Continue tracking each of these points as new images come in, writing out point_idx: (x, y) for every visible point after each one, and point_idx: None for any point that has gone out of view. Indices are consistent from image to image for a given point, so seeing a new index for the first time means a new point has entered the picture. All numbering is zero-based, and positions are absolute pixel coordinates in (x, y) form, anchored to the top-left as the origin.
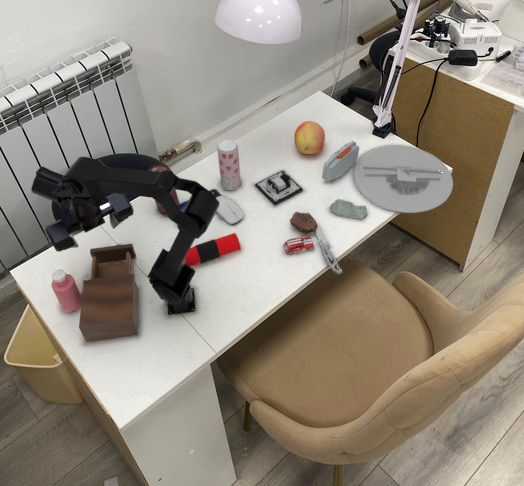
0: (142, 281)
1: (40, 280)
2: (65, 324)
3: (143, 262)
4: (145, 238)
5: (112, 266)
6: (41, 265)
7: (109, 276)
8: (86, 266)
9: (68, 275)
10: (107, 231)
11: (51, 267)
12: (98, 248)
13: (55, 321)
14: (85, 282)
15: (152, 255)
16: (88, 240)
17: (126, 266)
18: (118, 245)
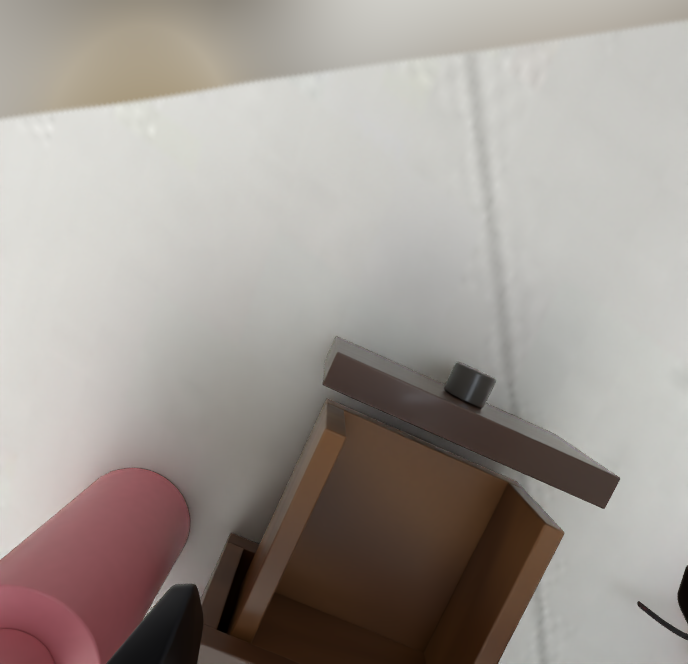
0: None
1: (18, 274)
2: None
3: None
4: (650, 326)
5: (408, 465)
6: (50, 165)
7: (364, 522)
8: (281, 327)
9: (73, 632)
10: (488, 137)
11: (100, 216)
12: (392, 386)
13: None
14: None
15: (623, 463)
16: (361, 139)
17: (493, 637)
18: (528, 442)
